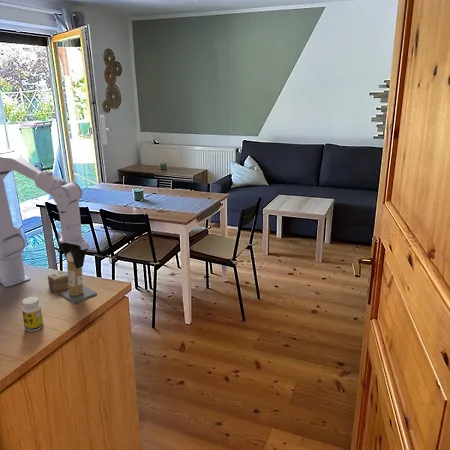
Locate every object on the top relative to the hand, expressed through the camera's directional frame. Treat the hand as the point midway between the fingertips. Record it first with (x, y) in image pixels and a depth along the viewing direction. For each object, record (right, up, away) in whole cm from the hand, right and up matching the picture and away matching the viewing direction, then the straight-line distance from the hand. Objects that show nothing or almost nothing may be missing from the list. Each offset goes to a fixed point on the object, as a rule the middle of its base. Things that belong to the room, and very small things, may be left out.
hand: (75, 264), depth 131 cm
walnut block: (-8, -8, +8) cm, 14 cm away
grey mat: (0, -10, +3) cm, 10 cm away
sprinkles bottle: (-1, -9, +3) cm, 10 cm away
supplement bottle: (-6, -16, -14) cm, 22 cm away
